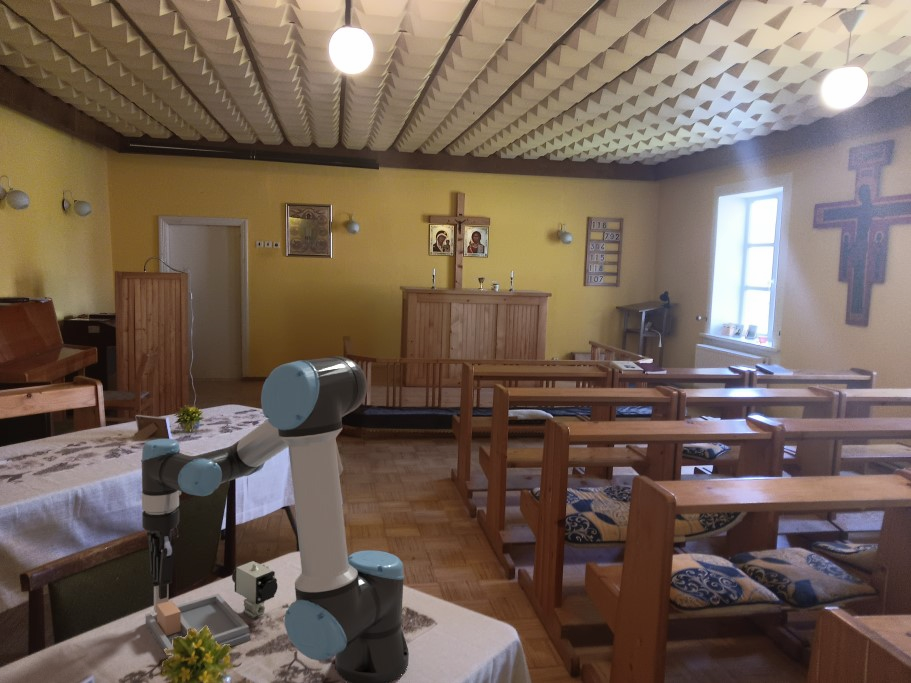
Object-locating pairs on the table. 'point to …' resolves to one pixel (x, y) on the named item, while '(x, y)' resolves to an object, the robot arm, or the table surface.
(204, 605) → the grey tray
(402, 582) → the robot arm
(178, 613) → the tan cardboard box
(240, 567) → the pneumatic valve
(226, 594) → the table surface
